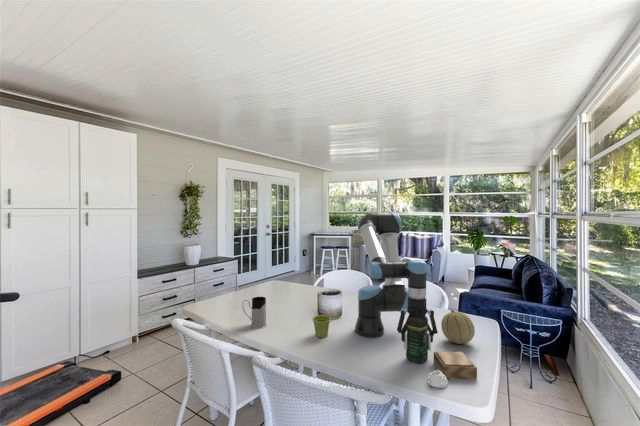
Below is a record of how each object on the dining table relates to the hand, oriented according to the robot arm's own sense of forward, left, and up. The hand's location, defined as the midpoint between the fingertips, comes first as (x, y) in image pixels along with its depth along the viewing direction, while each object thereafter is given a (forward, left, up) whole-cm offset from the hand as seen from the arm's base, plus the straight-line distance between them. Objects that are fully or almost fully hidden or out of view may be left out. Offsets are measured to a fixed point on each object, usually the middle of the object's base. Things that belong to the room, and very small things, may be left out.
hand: (417, 349), depth 127 cm
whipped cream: (+2, -18, -5) cm, 19 cm away
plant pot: (-42, +22, -4) cm, 48 cm away
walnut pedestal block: (+12, -9, -4) cm, 15 cm away
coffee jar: (0, 0, -4) cm, 4 cm away
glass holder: (-80, +34, -4) cm, 87 cm away
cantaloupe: (+24, +17, -4) cm, 30 cm away
